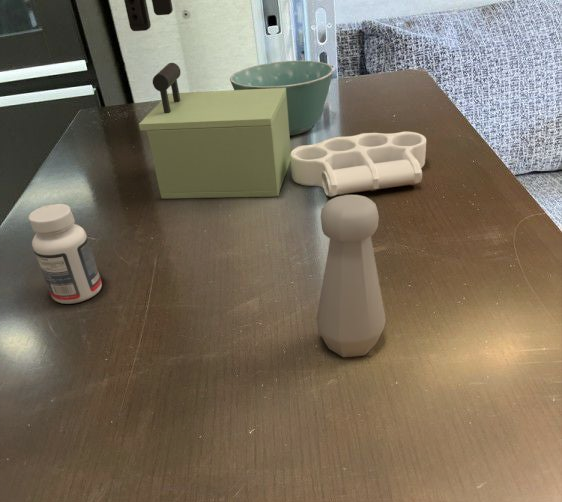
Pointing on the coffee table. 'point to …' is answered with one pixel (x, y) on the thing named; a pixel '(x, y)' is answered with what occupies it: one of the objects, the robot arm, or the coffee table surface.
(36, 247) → the pill bottle
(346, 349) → the salt shaker
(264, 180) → the bin
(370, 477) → the coffee table surface
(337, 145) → the knuckle duster
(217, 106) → the bin lid
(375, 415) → the coffee table surface
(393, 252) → the coffee table surface
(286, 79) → the bowl
